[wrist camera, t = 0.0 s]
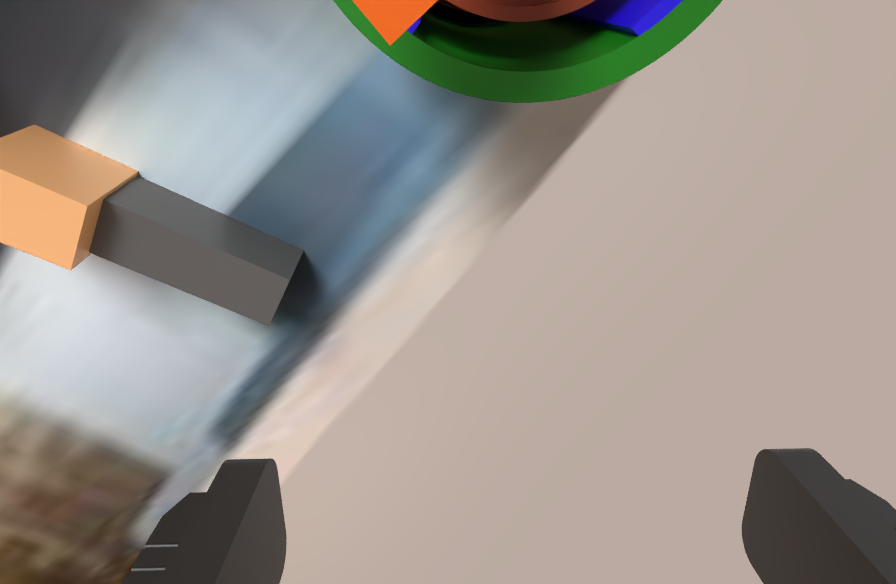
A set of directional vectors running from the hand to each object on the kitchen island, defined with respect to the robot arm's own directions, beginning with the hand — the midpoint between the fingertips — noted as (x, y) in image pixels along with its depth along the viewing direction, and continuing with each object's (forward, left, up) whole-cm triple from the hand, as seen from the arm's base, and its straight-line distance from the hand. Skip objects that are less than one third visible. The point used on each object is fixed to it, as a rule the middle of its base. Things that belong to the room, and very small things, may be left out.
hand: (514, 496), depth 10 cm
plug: (+10, -12, -22) cm, 27 cm away
